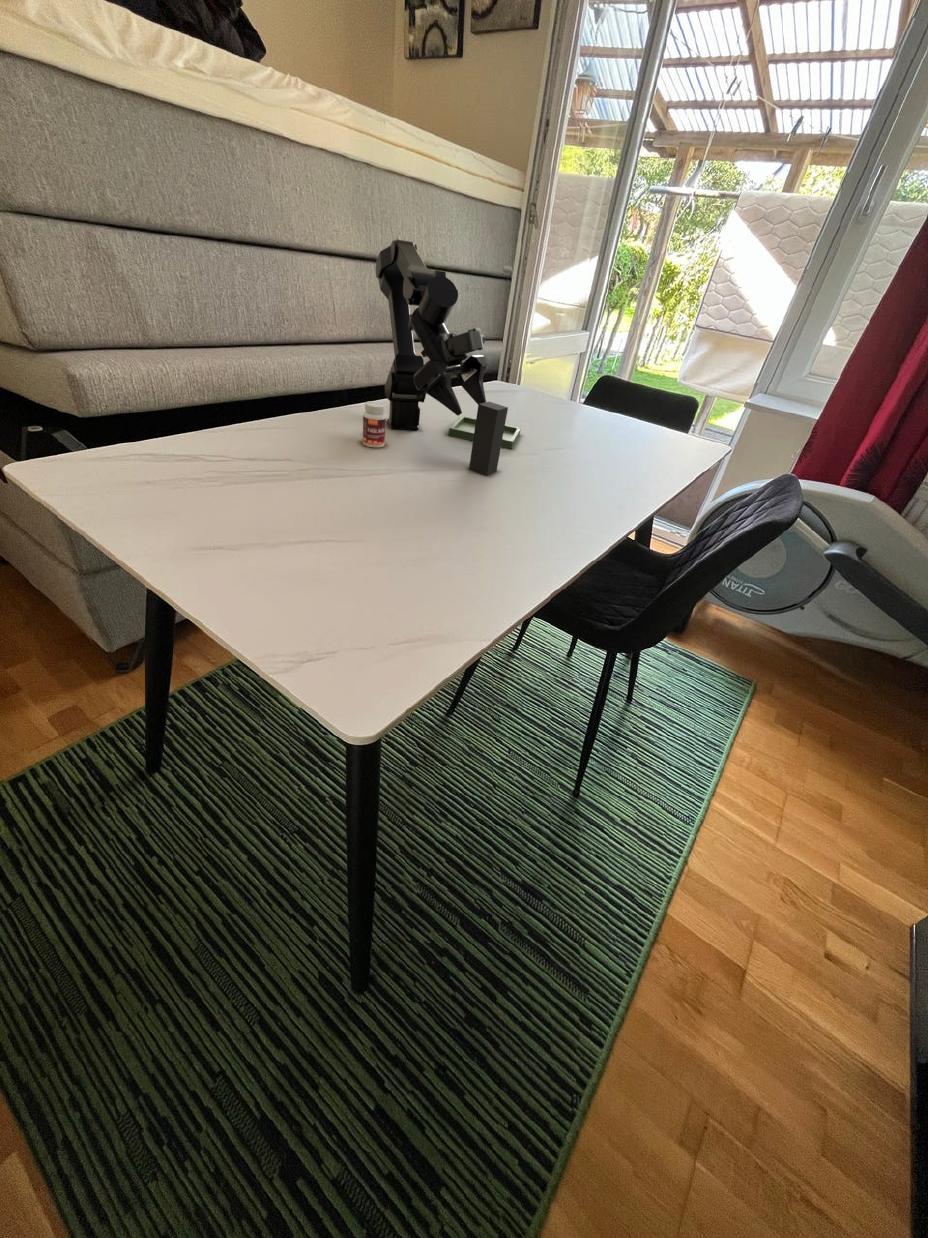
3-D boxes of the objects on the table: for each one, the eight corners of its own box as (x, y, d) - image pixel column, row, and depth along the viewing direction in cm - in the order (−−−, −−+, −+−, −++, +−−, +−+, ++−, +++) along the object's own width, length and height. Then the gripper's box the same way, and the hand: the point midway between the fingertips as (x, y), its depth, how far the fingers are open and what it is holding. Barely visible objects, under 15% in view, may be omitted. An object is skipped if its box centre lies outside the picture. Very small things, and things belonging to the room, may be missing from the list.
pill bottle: (366, 448, 109) (367, 407, 104) (359, 440, 112) (360, 400, 107) (387, 447, 111) (389, 407, 106) (380, 440, 114) (381, 400, 109)
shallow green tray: (448, 435, 124) (449, 427, 123) (461, 422, 134) (462, 415, 133) (511, 449, 122) (512, 441, 121) (519, 435, 132) (520, 428, 131)
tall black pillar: (468, 468, 108) (478, 403, 100) (478, 464, 111) (488, 401, 103) (486, 475, 106) (497, 410, 98) (496, 471, 109) (508, 407, 101)
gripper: (432, 310, 89) (475, 393, 91) (488, 309, 102) (525, 382, 105) (394, 350, 97) (435, 426, 99) (451, 345, 110) (486, 412, 112)
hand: (472, 410), depth 103 cm, fingers open, 9 cm apart
